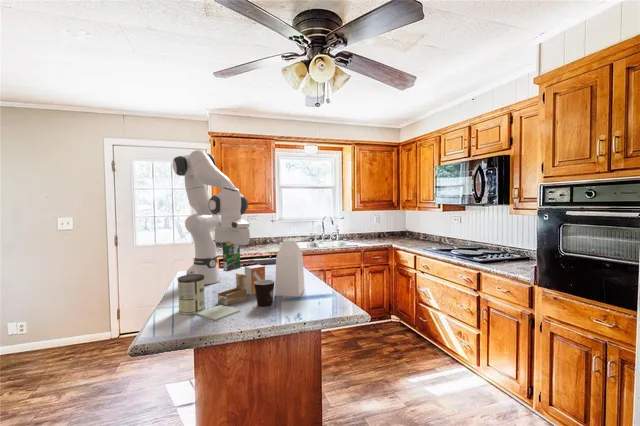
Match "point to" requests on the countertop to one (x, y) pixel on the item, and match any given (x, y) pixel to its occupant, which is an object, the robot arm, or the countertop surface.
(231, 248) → the coffee box
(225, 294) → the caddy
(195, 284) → the coffee can
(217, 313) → the sage green square tile
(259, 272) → the small box
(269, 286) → the coffee mug
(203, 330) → the countertop surface
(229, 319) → the countertop surface
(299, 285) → the milk
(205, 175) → the robot arm
